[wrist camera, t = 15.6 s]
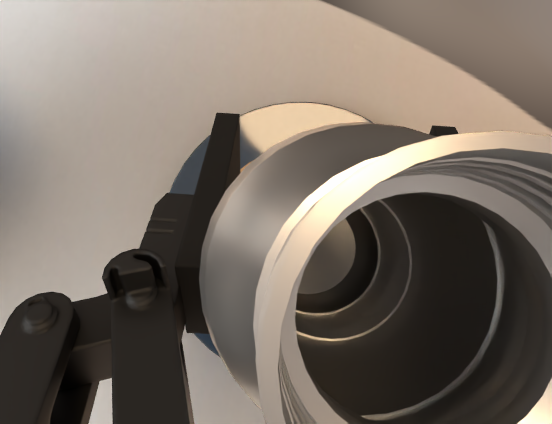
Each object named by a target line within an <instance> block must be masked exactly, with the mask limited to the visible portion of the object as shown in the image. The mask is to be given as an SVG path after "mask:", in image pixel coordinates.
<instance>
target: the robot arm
mask: <svg viewBox="0 0 552 424" xmlns="http://www.w3.org/2000/svg"><path fill="white" fill-rule="evenodd" d="M454 134H458V132H457V130H456V128H455V127H447V126H432V128H431V131H430V134H429V135H432V136H436V137H440V136H444V135H454ZM239 174H240V114H229V113H217V114H216V117H215V121H214V124H213V128H212V132H211V135H210V139H209V142H208V146H207V150H206V153H205V157H204V161H203V164H202V168H201V171H200V175H199V179H198V182H197V186H196V189H195V193H194V195H191V194H174V193H167V194H166V195H165V196H164V197H163V198H162V199H161V200H160V201H159V202H158V203H157V204H156V205H155V207H154V210H153V213H152V215H151V220H150V221H149V223H148V226H147V229H146V232H145V234H144V237H143V240H142V242H141V245H140V248H139V249H132V250H129V251H125V252H122V253H120V254H119V255H117V256H116V257H114V258H113V259H111V260H110V262H109V263H108V264H107V266H106V267H105V268H104V272H103V276H102V279H103V281H104V284H105V287H106V289H107V292H108V293H107V294H104V295H101V296H98V297H94V298H89V299H84V300H80V301H75V302H71V300H70V298H68V297H67V296H65V295H64V294H62V293H56V292H47V293H40V294H37V295H35V296H33V297H30V298H28V299H26V300H25V301H24V302H22V303H21V304H20V305H19V306H17V307H16V308H15V310H14V311H13V313H12V314H11V315H10V317H9V318H8V321H7V323H6V325H5V327H4V329H3V331H2V333H1V335H0V424H88V423H89V419H90V415H91V411H92V408H93V404H94V400H95V396H96V392H97V389H98V385H99V381H101V380H105V379H109V378H112V410H113V424H194V419H193V412H192V405H191V399H190V392H189V385H188V378H187V372H186V365H185V358H184V351H183V345H182V340H181V339H182V335H183V330H184V326H186V332H187V333H199V334H210V333H209V330H208V327H207V324H206V320H205V317H204V314H203V311H202V302H201V293H200V284H199V273H200V263H201V252H202V246H203V242H204V239H205V236H206V233H207V229H208V226H209V223H210V219H211V217H212V215H213V213H214V211H215V209H216V208H217V206H218V204H219V202H220V200H221V198H222V197H223V195H224V193H225V191H226V190H227V188H228V187H229V186H230V185H231V184H232V183H233V181H234V180H235V179H236V178H237V177H238V176H239Z"/></svg>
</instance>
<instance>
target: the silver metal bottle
mask: <svg viewBox="0 0 552 424" xmlns="http://www.w3.org/2000/svg"><path fill="white" fill-rule="evenodd" d="M199 284H200V293H201V302H202V311H203V314H204V317H205V320H206V324H207V327H208V330H209V333H210V336H211V339H212V342H213V344H214V346H215V347H216V349H217V351H218V353H219V355H220V357H221V358H222V360H223V362H224V364H225V366H226V367H227V369H228V371H229V372H230V374H231V375H232V377H233V378H234V379H235V381H236V382H237V383H238V384H239V385H240V387H241V388H242V389H243V390H244V391H245V393H246V394H247V395H248V396H249V397H250V399H251V400H252V401H253V402H254V403H255V405H256V406H257V407H259V408H260V409H261V410H262V412H263V415H264V418H265V421H266V424H552V136H547V135H538V134H529V133H520V132H511V131H490V132H478V133H465V134H454V135H444V136H440V137H436V136H432V135H429V134H426V133H422V132H419V131H416V130H413V129H409V128H406V127H400V126H393V125H384V124H375V123H366V122H354V123H342V124H329V125H326V126H322V127H319V128H315V129H311V130H308V131H304V132H301V133H298V134H296V135H294V136H292V137H290V138H288V139H286V140H284V141H282V142H280V143H278V144H276V145H274V146H272V147H270V148H269V149H268V150H266V151H265V152H264V153H263V154H261V155H260V156H259V157H258V158H256V159H255V160H254V161H252V162H251V163H250V164H249V165H247V166H246V167H245V168H244V170H243V171H242V172H241V173H240V174H239V176H238V177H237V178H236V179H235V180H234V181H233V183H232V184H231V185H230V186H229V187H228V188H227V190H226V191H225V193H224V195H223V197H222V198H221V200H220V202H219V204H218V206H217V208H216V209H215V211H214V213H213V215H212V217H211V219H210V223H209V226H208V229H207V233H206V236H205V239H204V242H203V246H202V252H201V263H200V273H199Z"/></svg>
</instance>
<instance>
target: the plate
mask: <svg viewBox="0 0 552 424" xmlns="http://www.w3.org/2000/svg"><path fill="white" fill-rule="evenodd" d="M354 122H366V123H373V122H371V121H370V120H368V119H366V118H364V117H362V116H360V115H358V114H356V113H353V112H351V111H348V110H346V109H343V108H339V107H335V106H331V105H327V104H320V103H312V102H288V103H281V104H273V105H269V106H265V107H262V108H258V109H255V110H252V111H250V112H247V113H245V114H243V115H240V173H241V172H242V171H243V170H244V168H245V167H246V166H247V165H249V164H250V163H251V162H252V161H254V160H255V159H256V158H258V157H259V156H260V155H261V154H263V153H264V152H265V151H266V150H268V149H269V148H270V147H272V146H274V145H276V144H278V143H280V142H282V141H284V140H286V139H288V138H290V137H292V136H294V135H296V134H298V133H301V132H304V131H308V130H311V129H315V128H319V127H322V126H326V125H329V124H342V123H354ZM209 139H210V135H209V136H208V137H207V138H206V139H205V140H204V141H203V142H202V143H201V144H200V145H199V146H198V147H197V148H196V149H195V150H194V152H193V153H192V154H191V155H190V157H189V158H188V159H187V161H186V162H185V163H184V165H183V166H182V168H181V170H180V172H179V173H178V175H177V177H176V179H175V180H174V183H173V185H172V188H171V190H170V192H169V193H174V194H191V195H194V193H195V189H196V186H197V182H198V179H199V175H200V171H201V168H202V164H203V161H204V157H205V153H206V150H207V146H208V142H209ZM194 334H195V335H196V336H197V337H198V338H199V339H200V340H201V341H202V342H203V343H204V344H205V345H206V346H207V347H208V348H209V349H210V350H211V351H213V352H214V353H215V354H217V355H218V356H219V357H220V355H219V353H218V351H217V349H216V347H215V346H214V344H213V342H212V339H211V336H210V334H199V333H194ZM220 358H221V357H220Z"/></svg>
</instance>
